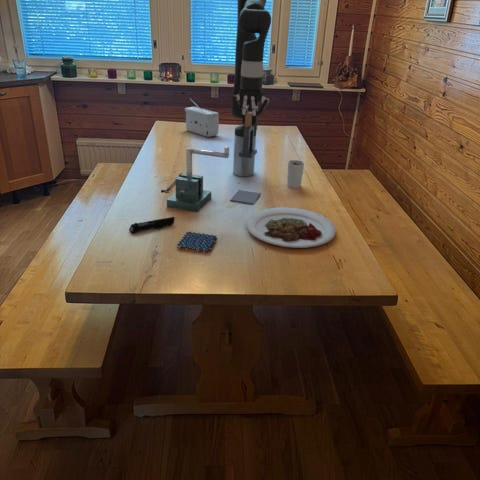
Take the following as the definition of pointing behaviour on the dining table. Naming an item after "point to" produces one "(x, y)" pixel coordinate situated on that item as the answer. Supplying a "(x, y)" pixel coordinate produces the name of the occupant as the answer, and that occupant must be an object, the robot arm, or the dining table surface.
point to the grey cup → (295, 173)
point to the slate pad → (245, 197)
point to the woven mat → (197, 242)
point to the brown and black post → (248, 137)
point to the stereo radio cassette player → (202, 121)
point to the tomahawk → (170, 186)
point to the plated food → (290, 227)
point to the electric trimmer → (151, 225)
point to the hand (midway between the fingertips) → (249, 125)
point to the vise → (192, 185)
